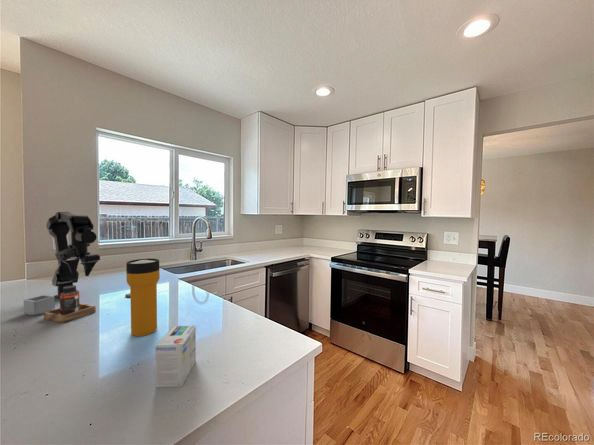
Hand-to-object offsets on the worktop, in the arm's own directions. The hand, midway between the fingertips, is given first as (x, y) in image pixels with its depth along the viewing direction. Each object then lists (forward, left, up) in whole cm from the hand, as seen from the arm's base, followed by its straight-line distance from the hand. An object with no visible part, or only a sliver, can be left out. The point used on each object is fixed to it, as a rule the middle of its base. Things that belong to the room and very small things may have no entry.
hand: (80, 275), depth 116 cm
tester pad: (+16, +15, -13) cm, 25 cm away
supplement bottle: (+12, -11, -13) cm, 20 cm away
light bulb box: (+82, -27, -13) cm, 87 cm away
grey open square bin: (-4, -13, -13) cm, 19 cm away
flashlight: (+53, -12, -13) cm, 56 cm away
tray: (+12, -11, -13) cm, 21 cm away
